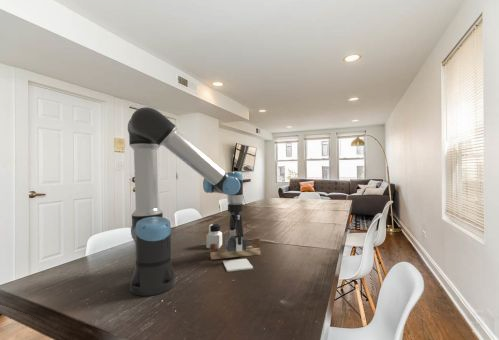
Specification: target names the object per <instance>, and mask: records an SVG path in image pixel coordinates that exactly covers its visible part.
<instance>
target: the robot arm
mask: <svg viewBox="0 0 499 340" xmlns="http://www.w3.org/2000/svg"><path fill="white" fill-rule="evenodd" d="M127 133H128V136H129V137H128V138H129V139H128V141H129V147H130V148H131V149H133V161H134V162H133V165H134V169H133V170H134V193H135V194H134V195H135V210H134V211H133V212H132V213H131V228H130V235H131V238H132V239H133V241H134V244H135V266H134V270H133V273H132V276H131V279H130V284H129V292H130V293H131V294H133V295H136V296H141V297H143V296H144V297H146V296H147V297H148V296H154V295H155V296H156V295H159V294H162V293H165V292H167V291H169V290H171V289H172V288H173V287H174V286H175V285H176V283H177V282H176V280H177V279H176V274H175V270H174V268H173V265H172V261H171V257H172V255H171V254H172V253H171V247H172V246H171V245H172V244H171V243H172V241H171V235H172V233H171V232H172V226H171V221H170V220H169V219H168V218H165V217H163V216H164V213H163V210H161V209H160V208H159V183H158V182H159V180H158V179H159V178H158V152H157V151H158V149H159V148H161V147H162V146H163V147H165V148H166V149H167V150H168V151H169V152H170V153H172V154H173V155H174V156H176V157H177V158H179V159H180V160H181V161H182V162H183V163H185V164H186V165H187V166H188V167H190V168H191V169H192V170H194V171H195V172H196V173H198V174H199V175H200V176H201V177H202V178H203V180H202V188H203V191H204V192H205V193H207V194H208V193H209V194H212V193H215V194H216V193H217V194H222V195H226V196H227V212H229V213H230V217H229V227H228V228H229V231H230V233H229V234H230V235H229V236H235V238H236V252H238V251H242V237H244V230H243V222H242V215H240V213H242V212H243V211H244V204H243V202H244V199H245V196H244V189H243V187H244V185H243V184H244V183H243V182H244V180H243V179H244V178H243V177H244V176H243V173H242V172H241V171H228V172H226V171H225V170H224V169H223V168H221V167H220V166H219V165H218V164H217V163H216V162H214V161H213V160H212V159H211V158H210V157H209V156H207V155H206V154H205V153H204V151H203V152H202V151H201V149H199V147H197V146H196V145H194V144H193V143H192V142H191V141H190V140H189V139H188V138H186V137H185V135H184V134H182V133H180V132H179V131H178V129H177V125H175V124H174V123H173V122H172V121H171V120H170V119H169V118H167V117H166V116H165V115H164V114H163V113H161V112H160V111H159V110H157V109H155V108H153V107H145V106H144V107H140V108H138V109H136V110H135V111H134V112H133V113H132V115H131V116H130V119H129V120H128V123H127Z"/></svg>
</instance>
